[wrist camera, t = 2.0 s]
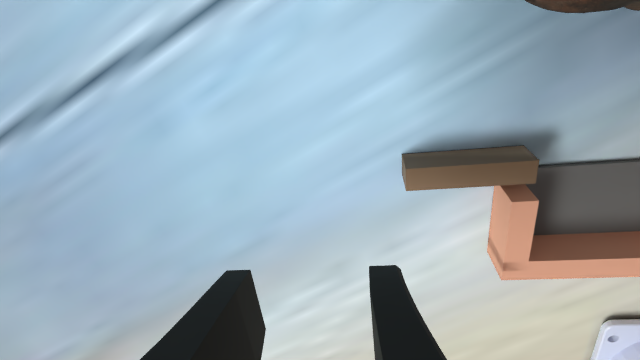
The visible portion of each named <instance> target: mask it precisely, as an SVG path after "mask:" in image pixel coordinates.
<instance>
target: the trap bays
mask: <svg viewBox="0 0 640 360" xmlns="http://www.w3.org/2000/svg"><path fill="white" fill-rule="evenodd" d="M487 252H488V254H489V256H490V258H491V260H492V262H493V264H494V266H495V268H496V270H497V272H498V274H499V276H500V278H501V280H526V279H565V278H604V277H640V159H639V160H623V161H608V162H592V163H576V164H561V165H545V166H538V172H537V178H536V183H534V184H516V185H499V186H494V193H493V203H492V212H491V221H490V230H489V240H488V249H487Z"/></svg>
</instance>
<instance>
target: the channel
mask: <svg viewBox="0 0 640 360" xmlns="http://www.w3.org/2000/svg"><path fill="white" fill-rule="evenodd" d="M538 166H539V159H537V158H536V157H535V156H534V155H533V154H532V153H531V152H530V151H529V150H528V149H527V148H526V147H525V146H509V147H495V148H481V149H467V150H453V151H439V152H425V153H411V154H402V176H403V180H404V184H405V188H406V191H413V190H430V189H448V188H465V187H482V186H499V185H516V184H534V183H536V178H537V172H538Z"/></svg>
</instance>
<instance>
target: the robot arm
mask: <svg viewBox="0 0 640 360" xmlns="http://www.w3.org/2000/svg"><path fill="white" fill-rule="evenodd" d="M369 278H370V298H371V311H372V324H373V338H374V351H375V360H447V359H446V357H445V356H444V354H443V353H442V351H441V349H440V348H439V346H438V344H437V343H436V341H435V339H434V337H433V336H432V334H431V332H430V331H429V329H428V327H427V325H426V324H425V322H424V320H423V318H422V316H421V315H420V313H419V311H418V309H417V307H416V305H415V303H414V301H413V299H412V297H411V295H410V292H409V290H408V288H407V286H406V283H405V281H404V278H403V275H402V272H401V269H400V268H398V267H397V266H396V265H390V266H369ZM265 330H266V328H265V324H264V321H263V317H262V313H261V309H260V305H259V301H258V298H257V294H256V290H255V286H254V282H253V278H252V275H251V271H250V270H233V271H226V272H225V273H224V274H223V275H222V276H221V277H220V278H219V279H218V280H217V281H216V282H215V283H214V284H213V285H212V286H211V288H210V289H209V290H208V291H207V292H206V293H205V294H204V295H203V296H202V297H201V298H200V299H199V300H198V301H197V302H196V303H195V305H194V306H193V307H192V308H191V309H190V310H189V311H188V312H187V313H186V314H185V315H184V316H183V317H182V318H181V319H180V320H179V321H178V322H177V323H176V324H175V325H174V326H173V328H172V329H171V330H170V331H169V332H168V333H167V334H166V335H165V336H164V337H163V338H162V339H161V340H160V341H159V342H158V343H157V344H156V345H155V346H154V347H153V348H152V349H150V350H149V351H148V352H147V353H146V354H145V355H144V356H143V357H142V358H141V359H140V360H261V355H262V349H263V343H264V337H265ZM591 360H640V319H625V320H608V321H606V322H604V323H603V324H602V326H601V328H600V332H599V335H598V338H597V341H596V344H595V347H594V350H593V353H592V357H591Z"/></svg>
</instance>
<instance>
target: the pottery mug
mask: <svg viewBox="0 0 640 360" xmlns="http://www.w3.org/2000/svg"><path fill="white" fill-rule="evenodd" d="M525 1H526V2H528V3H531V4H533V5H535V6H538V7H540V8H543V9H546V10H552V11H557V12H564V13H587V12H596V11H606V10H613V9H617V8H621V7H626V8H628V9H631V10H637V11H639V10H640V0H525Z"/></svg>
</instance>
